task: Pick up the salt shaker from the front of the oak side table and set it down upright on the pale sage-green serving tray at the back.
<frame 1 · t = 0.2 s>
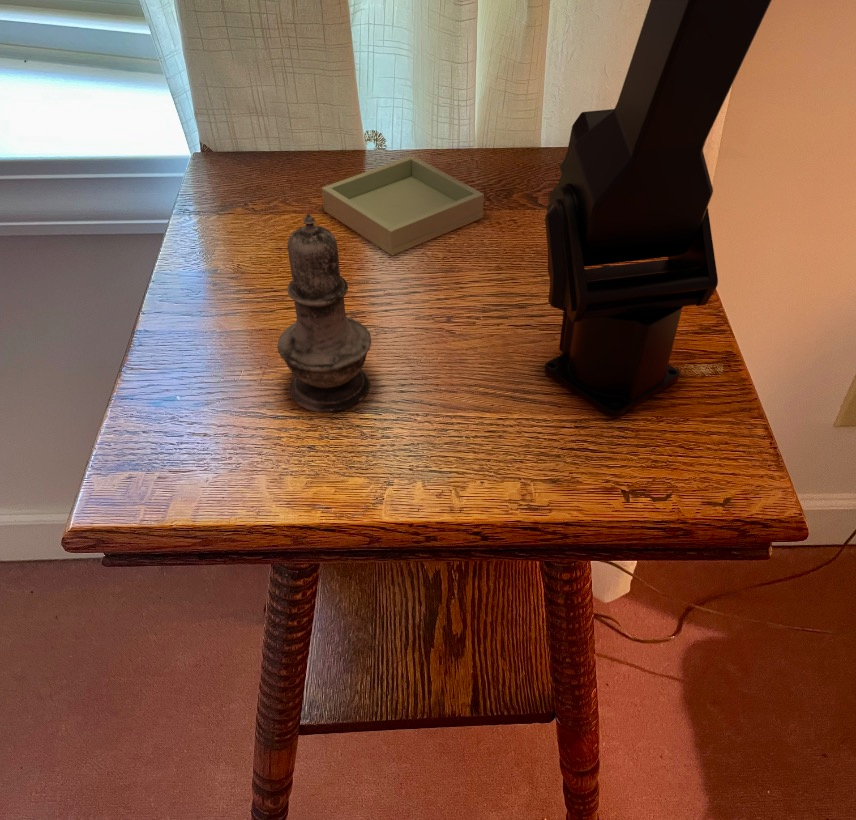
tray: (402, 214, 70), on the table
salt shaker: (330, 388, 54), on the table
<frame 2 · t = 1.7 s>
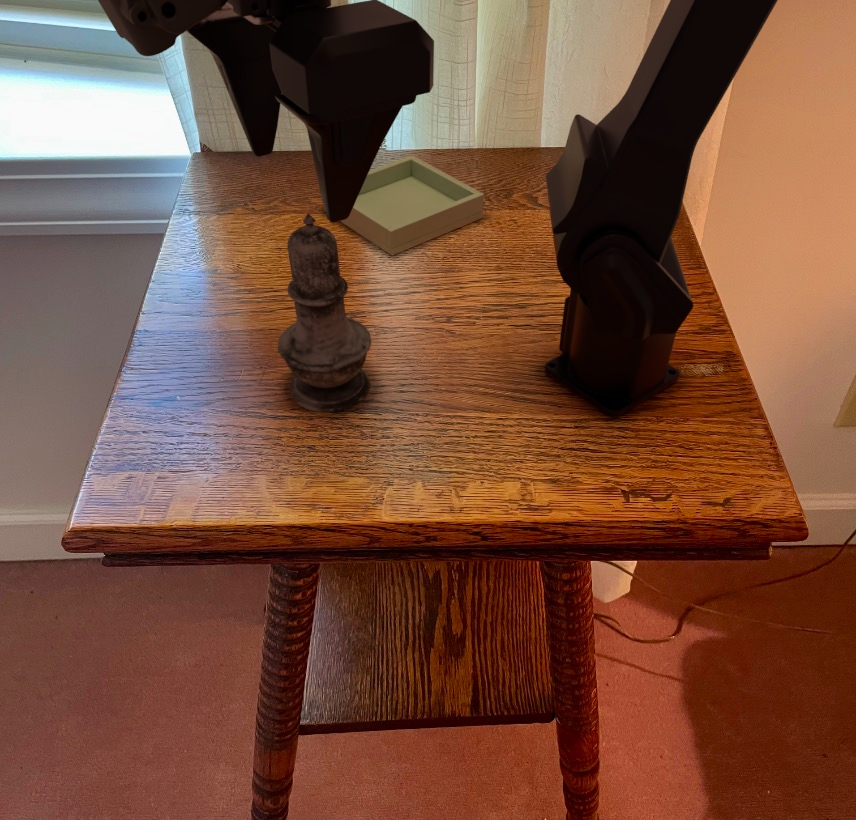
hand: (298, 185, 46), 13 cm above the table, tool pointing down, fingers open, 9 cm apart
nothing on the table moved.
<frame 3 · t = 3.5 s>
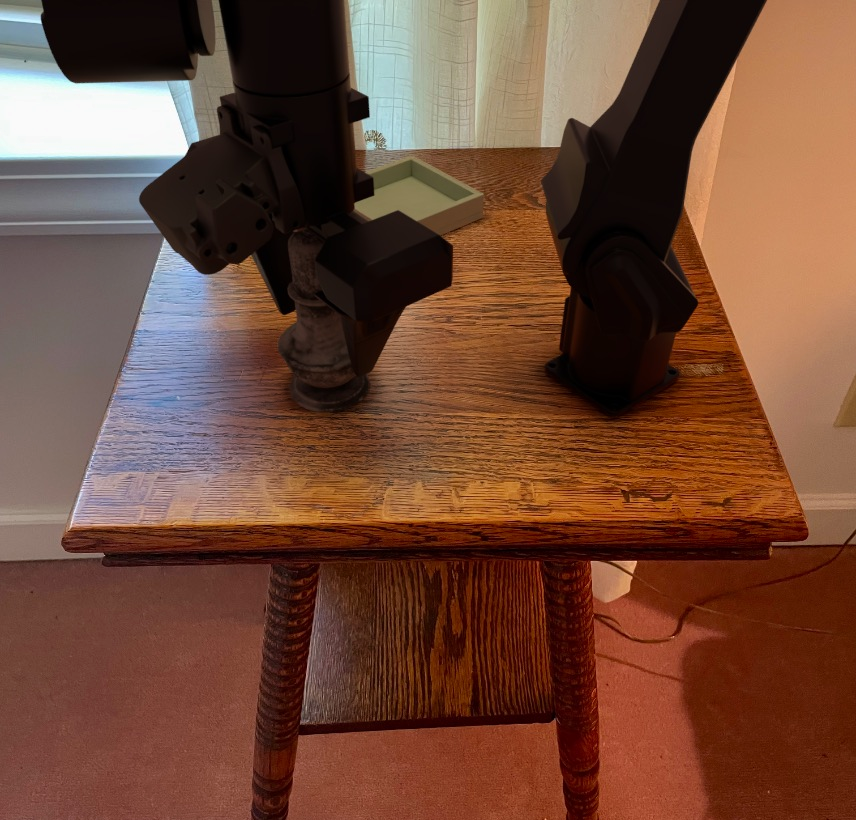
hand: (324, 341, 52), 4 cm above the table, tool pointing down, fingers closed on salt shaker, 8 cm apart
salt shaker: (330, 388, 54), on the table, touching gripper
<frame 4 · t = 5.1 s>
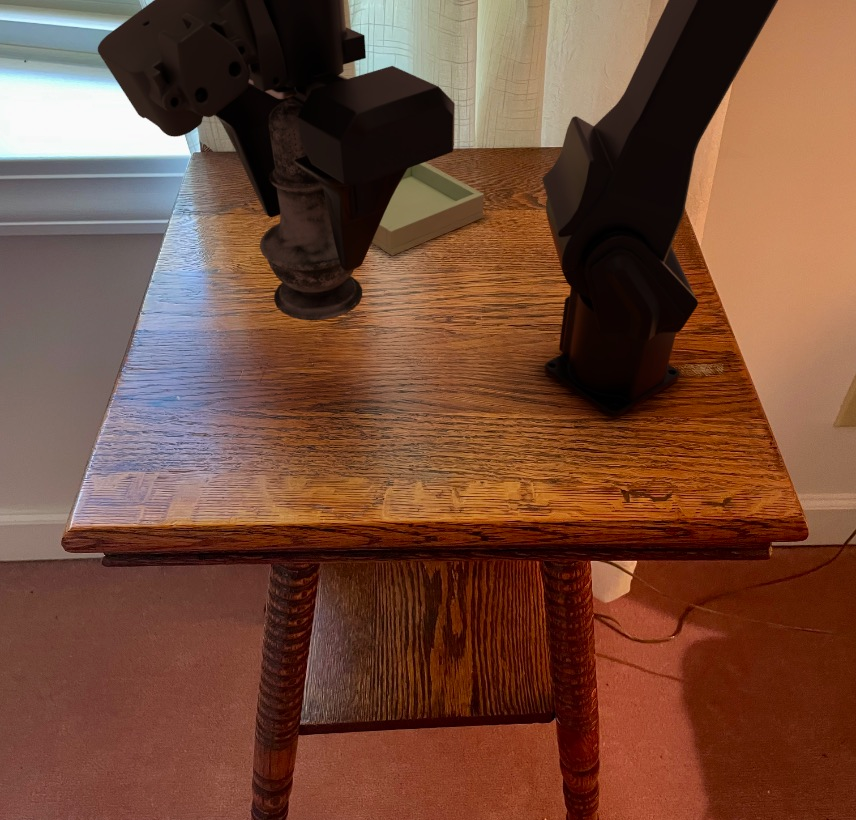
hand: (311, 240, 47), 10 cm above the table, tool pointing down, fingers closed on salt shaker, 7 cm apart
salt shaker: (318, 298, 49), point 7 cm above the table, touching gripper
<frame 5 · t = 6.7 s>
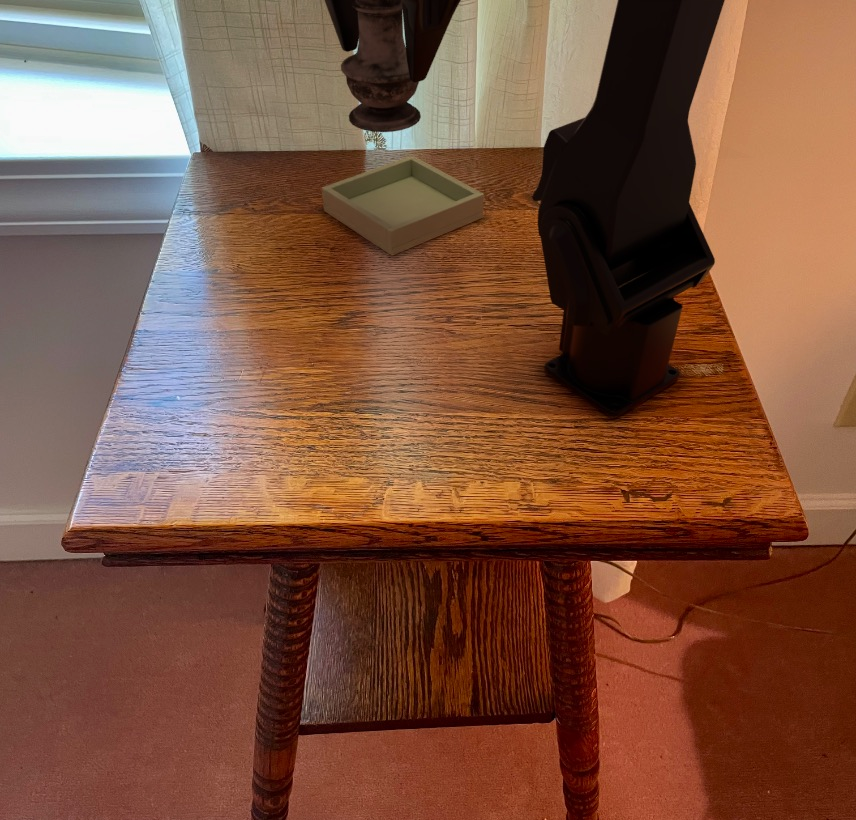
hand: (382, 64, 58), 13 cm above the table, tool pointing down, fingers closed on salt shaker, 7 cm apart
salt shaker: (384, 119, 60), point 9 cm above the table, touching gripper
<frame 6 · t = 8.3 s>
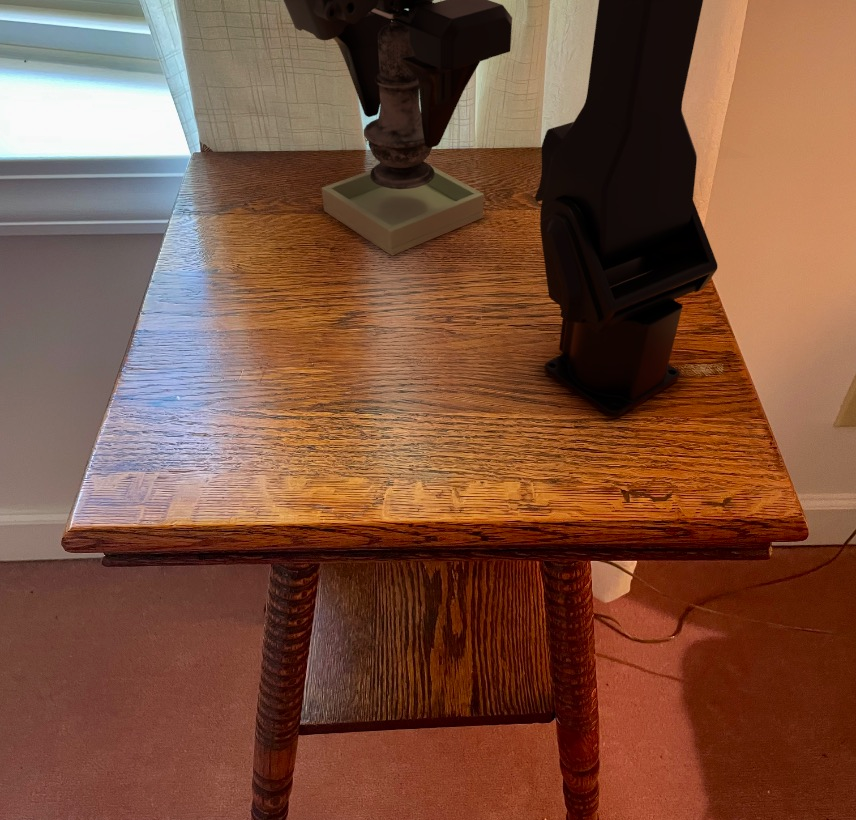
hand: (400, 130, 65), 7 cm above the table, tool pointing down, fingers closed on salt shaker, 7 cm apart
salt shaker: (402, 176, 68), point 3 cm above the table, touching gripper
when the fingers open (4 cm above the table, at t = 9.9 s): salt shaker stays where it is, resting on tray.
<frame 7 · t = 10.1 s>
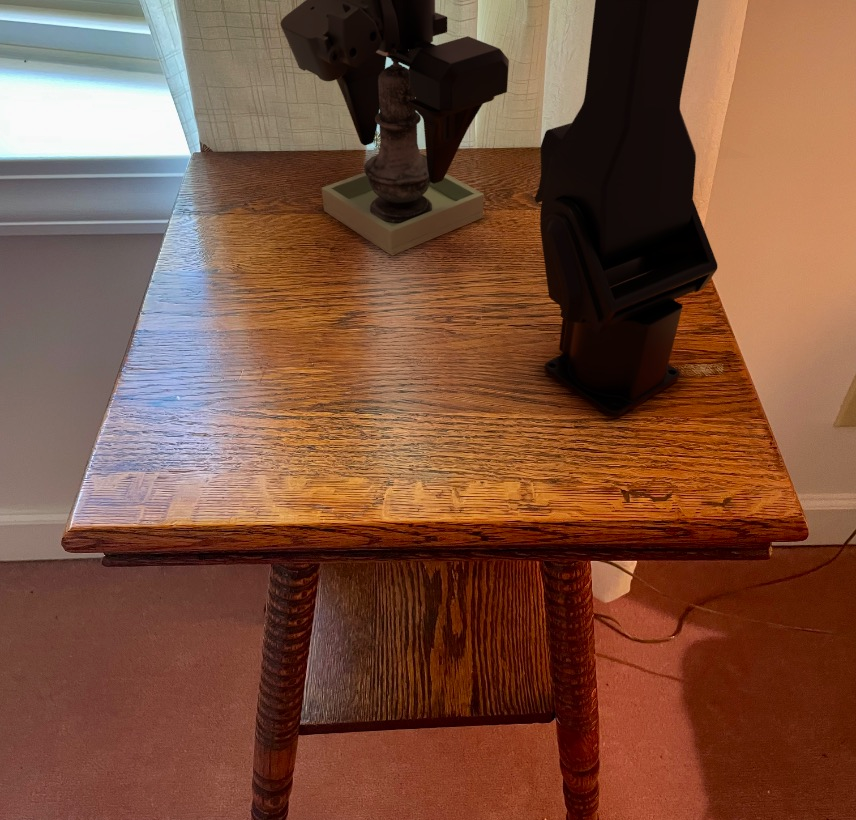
hand: (400, 162, 67), 4 cm above the table, tool pointing down, fingers open, 9 cm apart
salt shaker: (401, 210, 70), resting on tray
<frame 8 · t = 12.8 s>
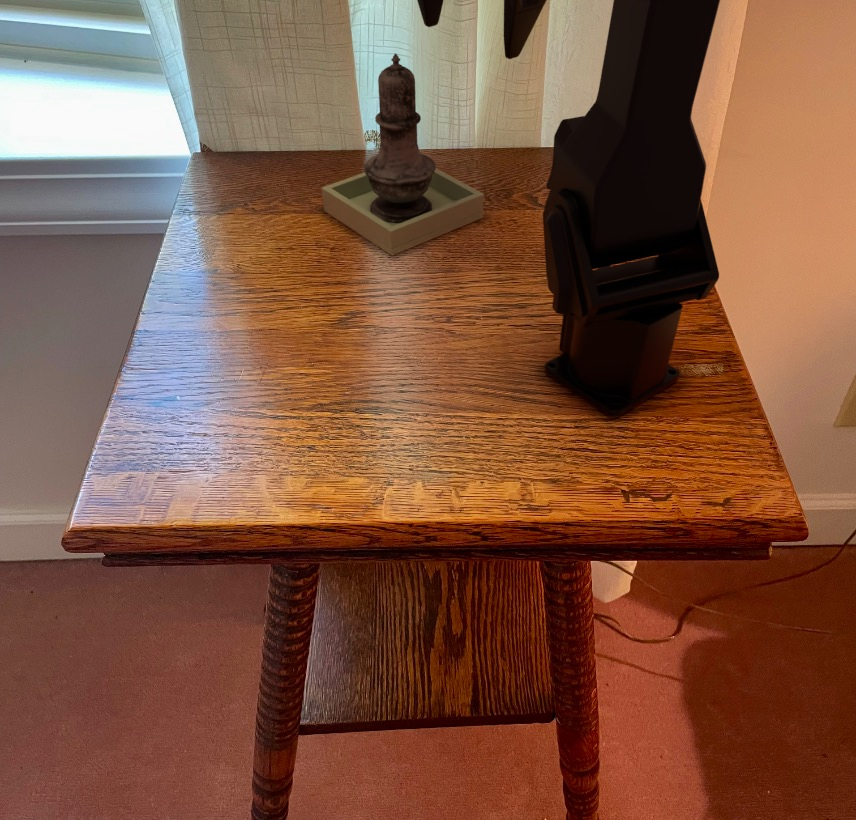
hand: (470, 41, 61), 13 cm above the table, tool pointing down, fingers open, 9 cm apart
nothing on the table moved.
at the end: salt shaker inside the target area in the tray (0.1 cm from its centre), point 0.4 cm above the tray's base; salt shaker tilted 0°; the gripper is holding nothing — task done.
